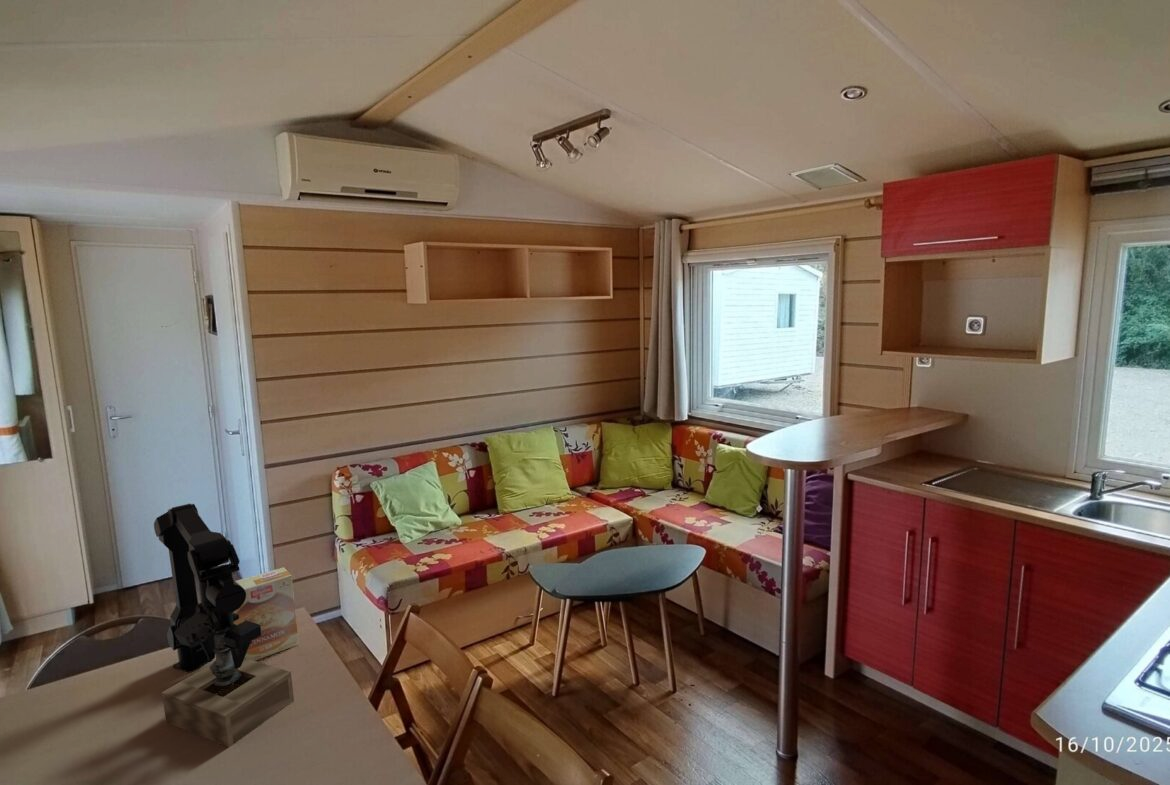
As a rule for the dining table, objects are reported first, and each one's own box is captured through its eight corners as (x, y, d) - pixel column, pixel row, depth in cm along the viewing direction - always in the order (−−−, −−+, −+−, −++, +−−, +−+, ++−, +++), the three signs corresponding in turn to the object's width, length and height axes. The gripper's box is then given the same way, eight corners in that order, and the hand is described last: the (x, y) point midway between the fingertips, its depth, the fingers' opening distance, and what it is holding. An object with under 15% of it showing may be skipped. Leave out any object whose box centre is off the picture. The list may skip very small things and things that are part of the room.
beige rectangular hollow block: (166, 722, 138) (161, 692, 137) (233, 680, 152) (230, 653, 151) (229, 747, 129) (224, 715, 128) (294, 700, 144) (290, 671, 143)
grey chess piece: (236, 685, 137) (229, 633, 135) (206, 688, 136) (199, 636, 134) (246, 669, 143) (240, 619, 141) (218, 671, 142) (211, 621, 140)
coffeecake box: (236, 668, 157) (227, 593, 154) (229, 656, 162) (220, 584, 159) (300, 644, 167) (292, 574, 163) (291, 634, 172) (283, 565, 169)
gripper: (149, 605, 133) (160, 674, 136) (209, 623, 125) (219, 695, 128) (201, 582, 143) (209, 646, 145) (259, 597, 135) (267, 665, 138)
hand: (225, 663), depth 139 cm, fingers closed on grey chess piece, 8 cm apart
